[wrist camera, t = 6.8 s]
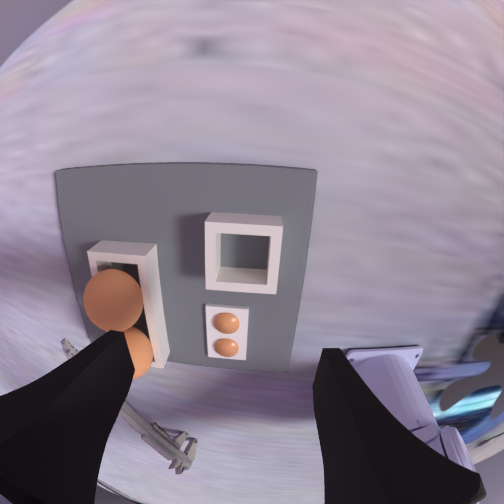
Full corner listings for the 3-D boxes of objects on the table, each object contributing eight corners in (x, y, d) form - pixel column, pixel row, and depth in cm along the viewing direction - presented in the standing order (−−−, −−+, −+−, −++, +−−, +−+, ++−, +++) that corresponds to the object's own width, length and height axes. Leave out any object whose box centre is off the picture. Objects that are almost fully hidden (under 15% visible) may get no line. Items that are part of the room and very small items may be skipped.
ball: (154, 312, 19) (134, 350, 15) (106, 305, 19) (81, 337, 15) (148, 261, 17) (122, 293, 13) (97, 256, 17) (65, 284, 13)
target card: (245, 357, 21) (245, 362, 21) (208, 354, 21) (207, 358, 21) (248, 307, 19) (248, 311, 19) (206, 303, 19) (205, 307, 19)
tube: (275, 278, 18) (276, 294, 17) (211, 274, 19) (205, 289, 17) (281, 216, 17) (283, 226, 15) (211, 212, 17) (204, 221, 15)
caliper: (199, 437, 30) (191, 477, 24) (193, 439, 30) (185, 478, 24) (66, 336, 24) (37, 375, 18) (63, 340, 24) (34, 378, 18)
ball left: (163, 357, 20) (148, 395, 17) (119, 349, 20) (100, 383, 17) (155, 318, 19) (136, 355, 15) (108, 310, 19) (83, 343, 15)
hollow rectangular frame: (169, 352, 22) (163, 368, 20) (123, 343, 22) (114, 358, 20) (156, 243, 18) (145, 256, 16) (101, 240, 18) (87, 251, 16)
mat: (286, 363, 23) (287, 372, 22) (96, 339, 23) (92, 345, 22) (314, 169, 17) (317, 171, 16) (63, 168, 17) (55, 170, 16)
